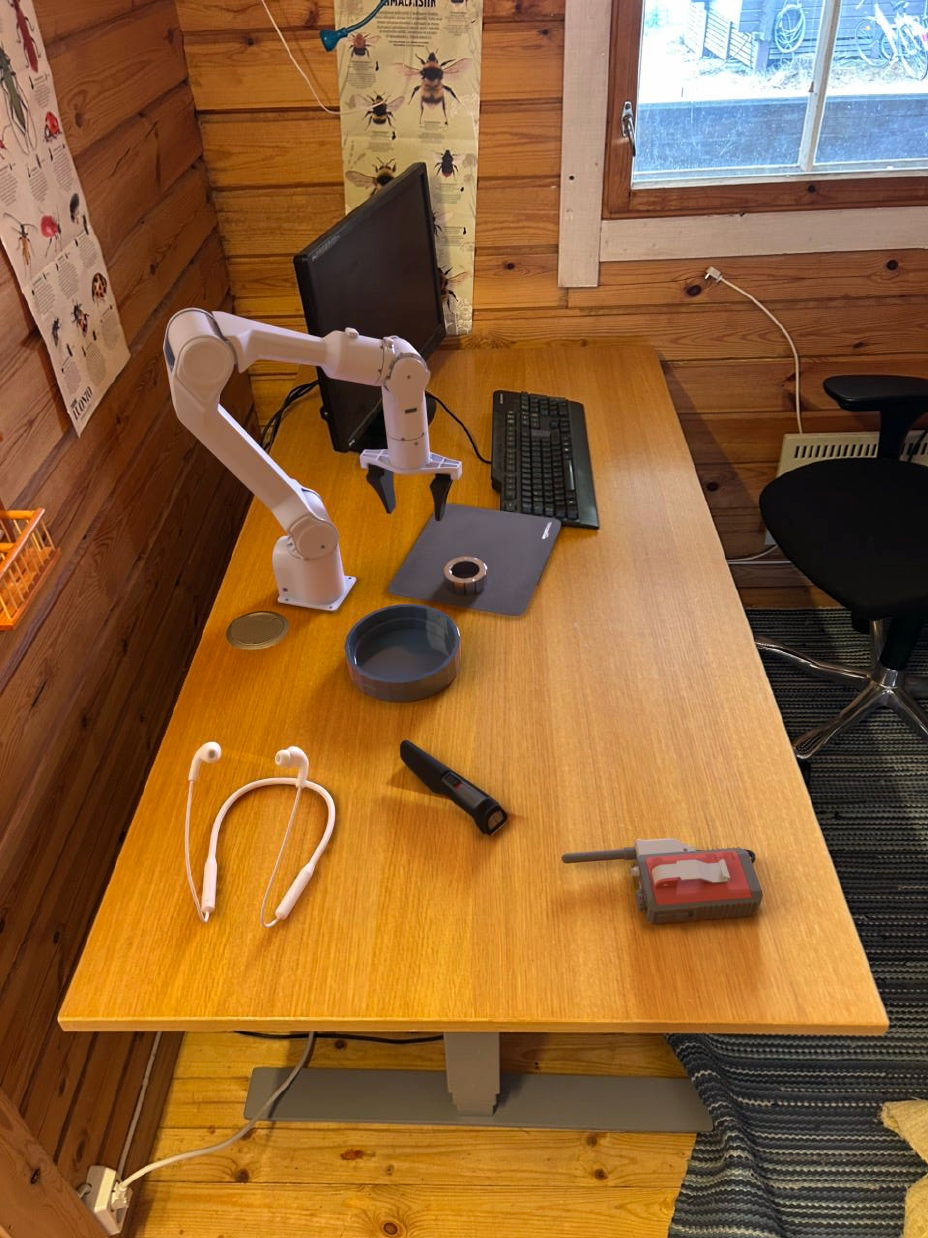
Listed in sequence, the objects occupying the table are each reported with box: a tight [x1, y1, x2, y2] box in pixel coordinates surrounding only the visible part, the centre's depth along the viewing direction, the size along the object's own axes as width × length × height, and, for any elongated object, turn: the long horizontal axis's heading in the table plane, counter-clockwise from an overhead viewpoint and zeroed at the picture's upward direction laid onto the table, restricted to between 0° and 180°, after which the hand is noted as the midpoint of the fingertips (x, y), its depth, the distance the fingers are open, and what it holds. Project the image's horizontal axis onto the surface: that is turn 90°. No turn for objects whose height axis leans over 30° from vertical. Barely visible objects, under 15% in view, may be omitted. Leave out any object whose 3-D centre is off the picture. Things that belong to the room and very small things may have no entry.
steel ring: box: [444, 557, 487, 596], centre depth 127 cm, size 6×6×3 cm
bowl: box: [343, 603, 462, 703], centre depth 115 cm, size 15×15×4 cm
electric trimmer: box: [399, 739, 508, 837], centre depth 99 cm, size 4×16×3 cm, turn 45°
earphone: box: [184, 741, 336, 929], centre depth 93 cm, size 14×17×18 cm
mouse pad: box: [387, 503, 562, 617], centre depth 133 cm, size 25×21×1 cm
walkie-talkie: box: [561, 837, 764, 925], centre depth 88 cm, size 9×4×20 cm
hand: (415, 513), depth 126 cm, fingers open, 7 cm apart
